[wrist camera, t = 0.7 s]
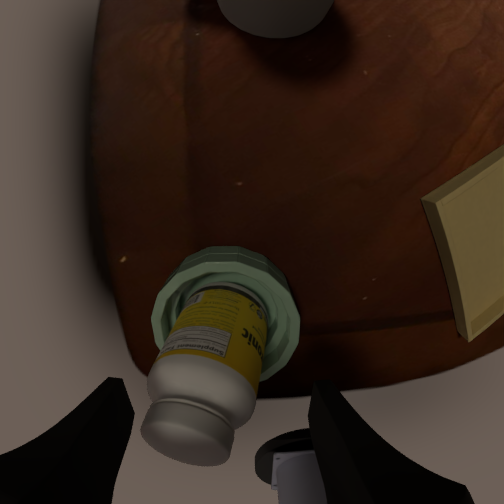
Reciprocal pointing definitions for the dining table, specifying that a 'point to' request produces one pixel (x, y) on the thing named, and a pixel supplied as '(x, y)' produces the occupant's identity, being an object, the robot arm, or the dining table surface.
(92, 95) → the dining table surface
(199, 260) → the celadon dish
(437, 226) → the enamel tray
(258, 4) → the cup
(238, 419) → the supplement bottle
